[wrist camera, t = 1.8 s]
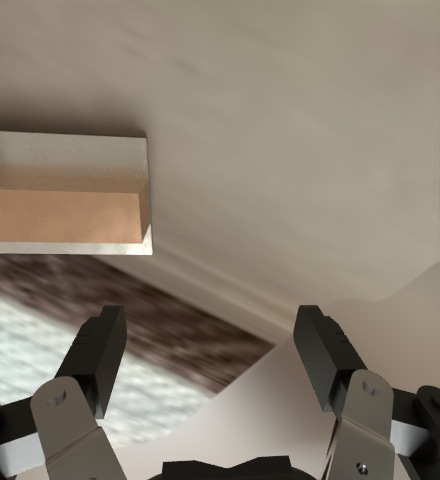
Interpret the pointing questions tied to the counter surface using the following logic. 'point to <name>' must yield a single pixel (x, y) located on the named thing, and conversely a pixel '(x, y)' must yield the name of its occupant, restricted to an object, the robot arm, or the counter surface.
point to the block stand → (75, 165)
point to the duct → (73, 209)
